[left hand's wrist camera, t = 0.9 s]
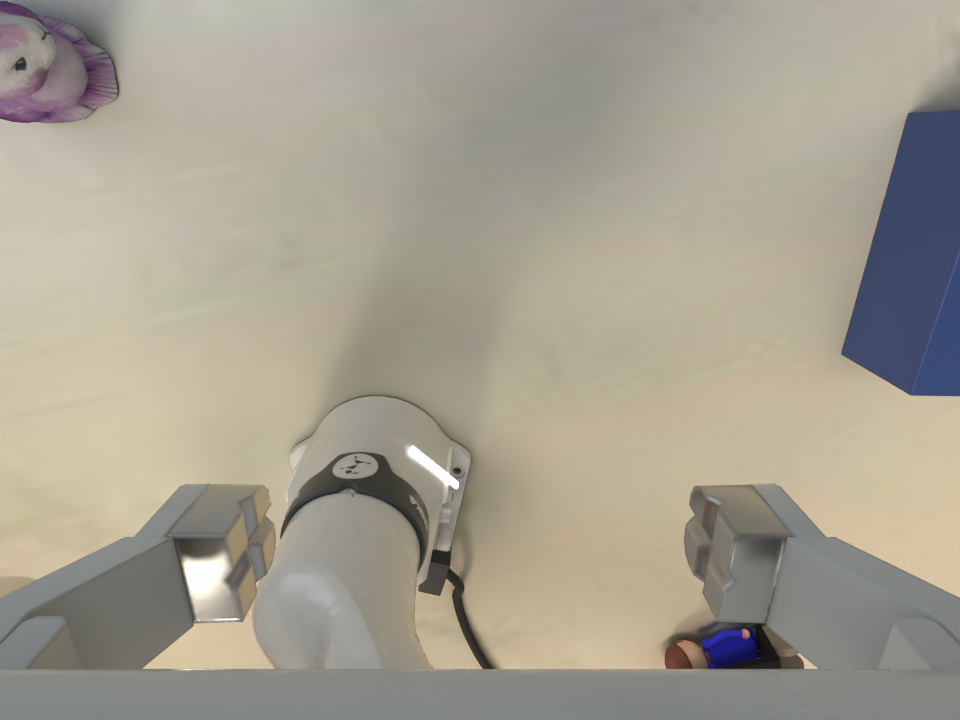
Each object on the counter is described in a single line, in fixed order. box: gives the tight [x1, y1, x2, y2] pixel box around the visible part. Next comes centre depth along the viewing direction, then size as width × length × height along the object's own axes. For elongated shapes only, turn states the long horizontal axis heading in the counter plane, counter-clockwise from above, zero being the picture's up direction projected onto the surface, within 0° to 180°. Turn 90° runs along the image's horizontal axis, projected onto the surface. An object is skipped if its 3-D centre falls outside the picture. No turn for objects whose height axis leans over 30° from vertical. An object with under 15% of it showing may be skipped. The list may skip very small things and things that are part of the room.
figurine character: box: [665, 623, 804, 669], centre depth 64 cm, size 7×8×15 cm
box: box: [842, 110, 960, 396], centre depth 45 cm, size 22×6×9 cm, turn 179°
